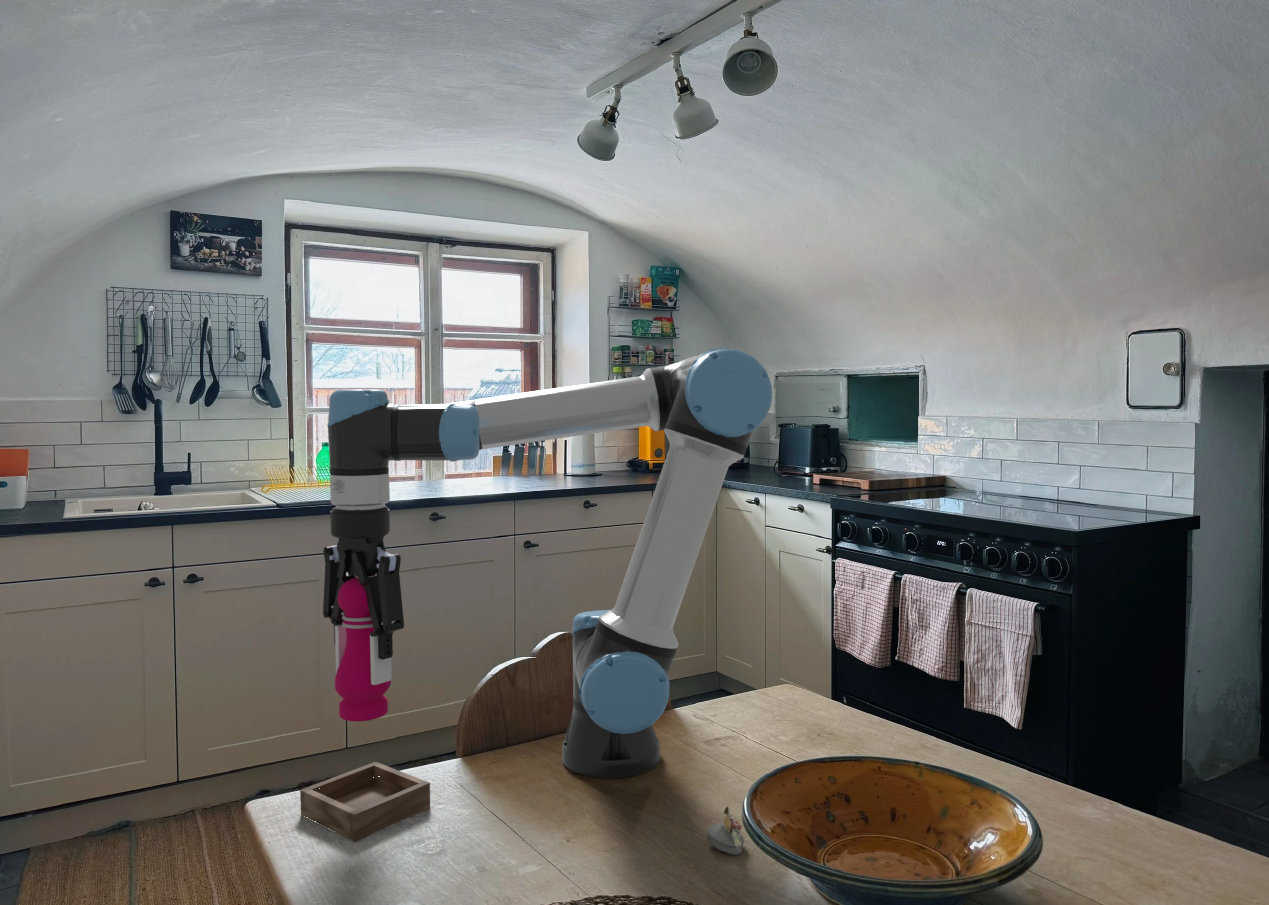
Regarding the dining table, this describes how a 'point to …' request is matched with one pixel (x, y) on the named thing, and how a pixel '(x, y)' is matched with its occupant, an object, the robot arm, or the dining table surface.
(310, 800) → the holder tray
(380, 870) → the dining table surface
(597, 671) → the robot arm
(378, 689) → the pepper mill
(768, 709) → the dining table surface
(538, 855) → the dining table surface
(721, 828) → the figurine
